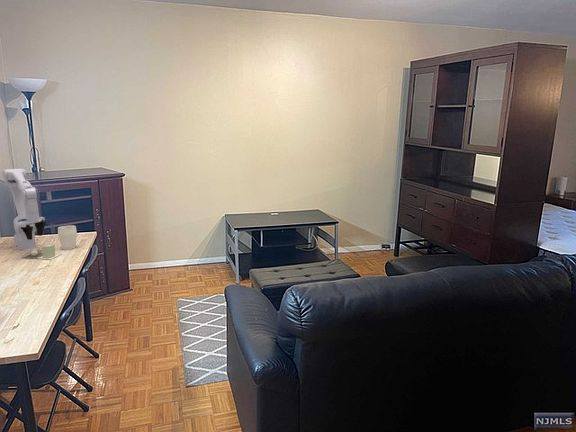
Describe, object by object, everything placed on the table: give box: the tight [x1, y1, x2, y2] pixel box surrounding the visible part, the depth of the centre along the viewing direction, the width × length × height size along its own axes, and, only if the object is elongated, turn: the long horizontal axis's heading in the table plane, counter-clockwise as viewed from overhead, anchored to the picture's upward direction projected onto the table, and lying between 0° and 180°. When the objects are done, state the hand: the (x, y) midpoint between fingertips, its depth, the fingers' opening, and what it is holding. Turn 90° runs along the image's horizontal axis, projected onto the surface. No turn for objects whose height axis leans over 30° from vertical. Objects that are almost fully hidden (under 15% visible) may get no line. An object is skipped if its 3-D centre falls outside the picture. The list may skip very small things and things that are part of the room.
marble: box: [30, 249, 39, 256], centre depth 216 cm, size 3×3×3 cm
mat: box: [22, 252, 63, 261], centre depth 216 cm, size 16×9×1 cm, turn 83°
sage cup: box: [41, 243, 56, 258], centre depth 215 cm, size 5×5×6 cm
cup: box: [57, 224, 78, 250], centre depth 230 cm, size 9×9×12 cm
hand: (35, 237), depth 217 cm, fingers open, 7 cm apart
